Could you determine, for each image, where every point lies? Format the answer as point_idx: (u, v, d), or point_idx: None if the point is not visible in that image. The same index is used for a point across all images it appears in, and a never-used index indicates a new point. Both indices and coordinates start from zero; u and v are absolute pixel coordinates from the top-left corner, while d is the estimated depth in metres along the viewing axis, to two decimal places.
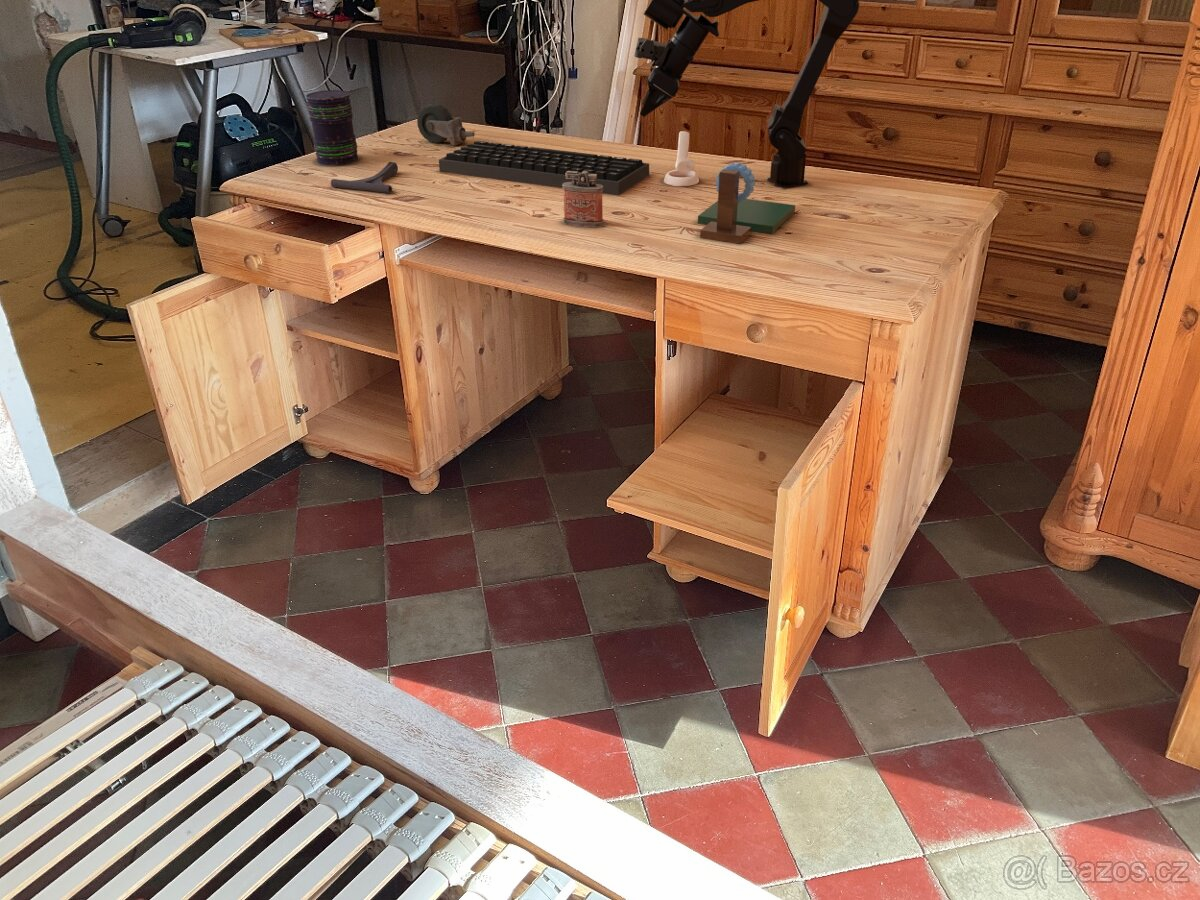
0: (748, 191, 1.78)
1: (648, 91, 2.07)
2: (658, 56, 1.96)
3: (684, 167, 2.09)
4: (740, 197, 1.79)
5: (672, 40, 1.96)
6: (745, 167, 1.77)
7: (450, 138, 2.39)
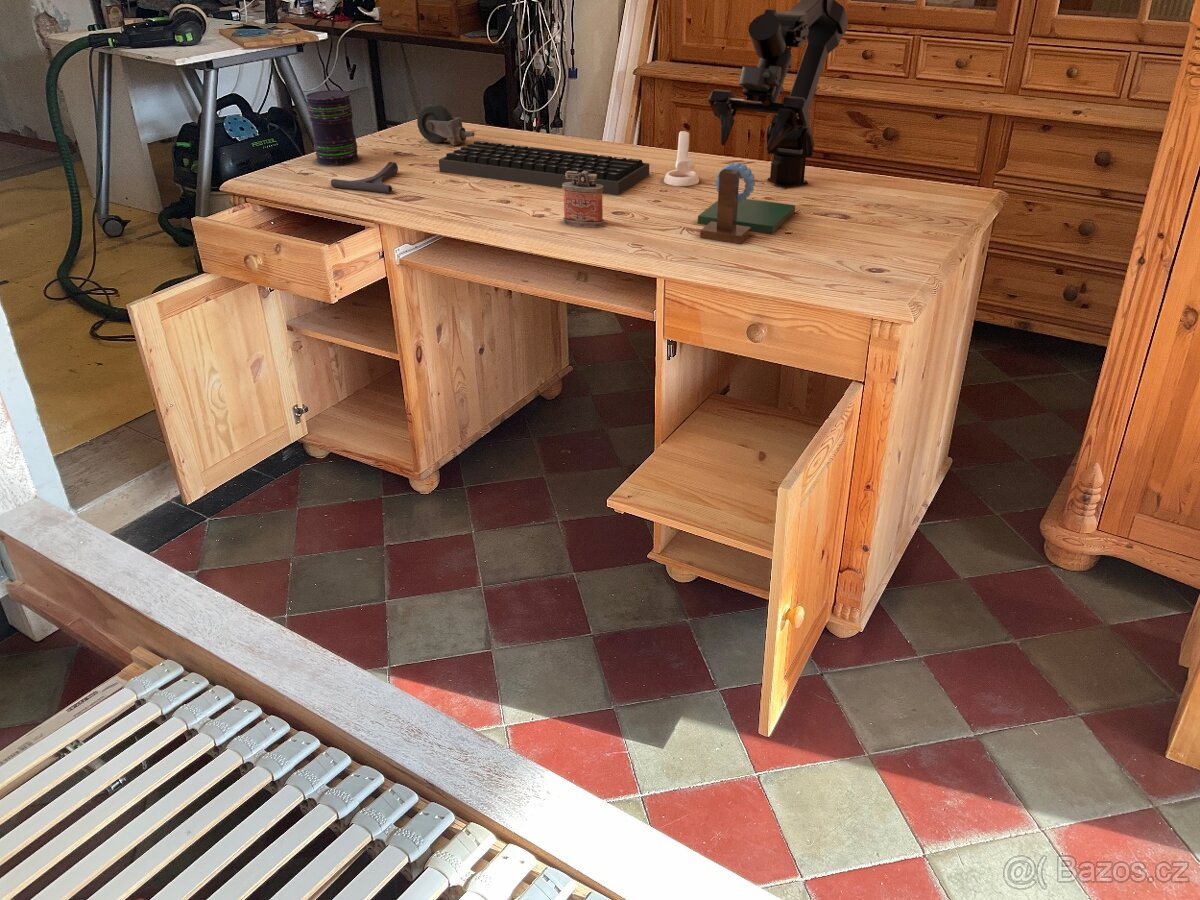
0: (748, 191, 1.78)
1: (726, 128, 1.85)
2: (773, 86, 1.80)
3: (684, 167, 2.09)
4: (740, 197, 1.79)
5: None
6: (745, 167, 1.77)
7: (450, 138, 2.39)
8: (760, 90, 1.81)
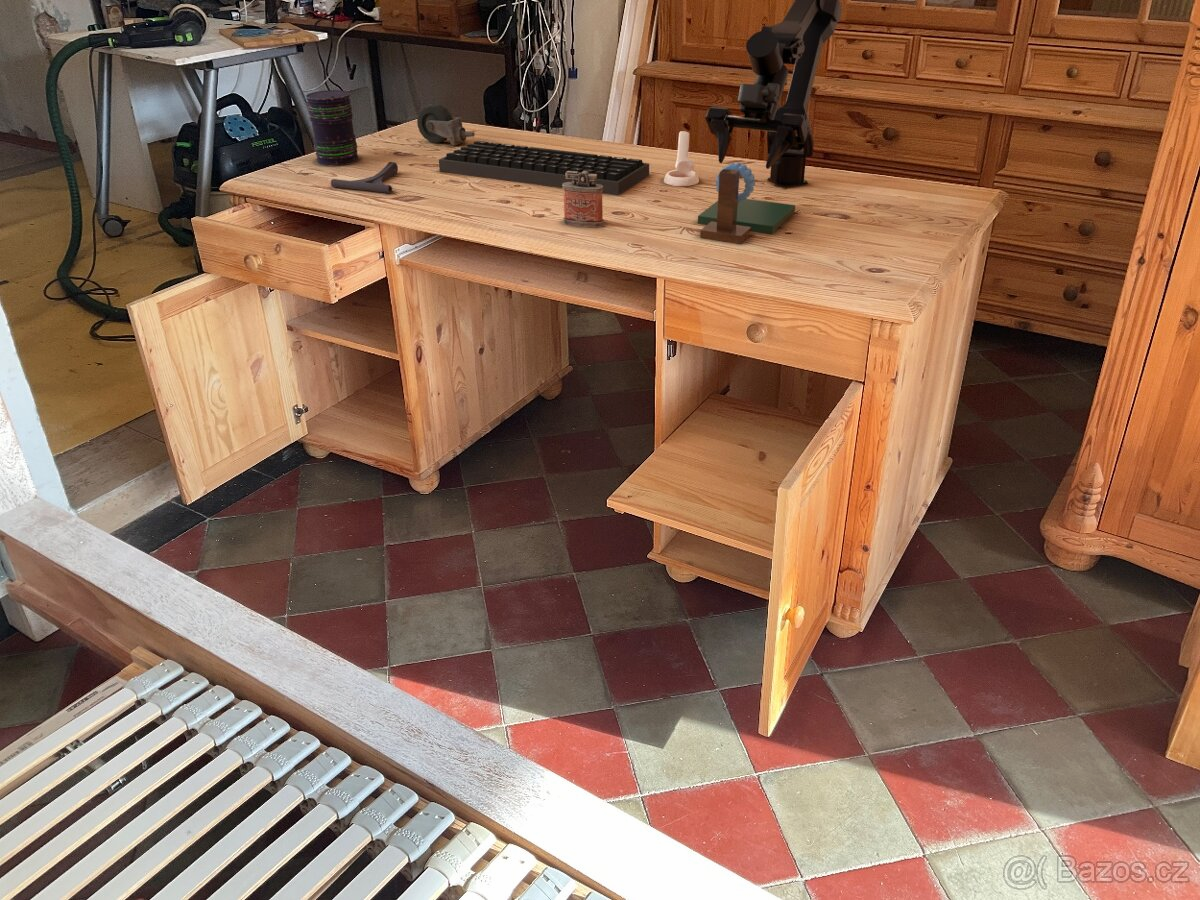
0: (748, 191, 1.78)
1: (723, 145, 1.82)
2: (771, 103, 1.79)
3: (684, 167, 2.09)
4: (740, 197, 1.79)
5: None
6: (745, 167, 1.77)
7: (450, 138, 2.39)
8: (758, 107, 1.80)
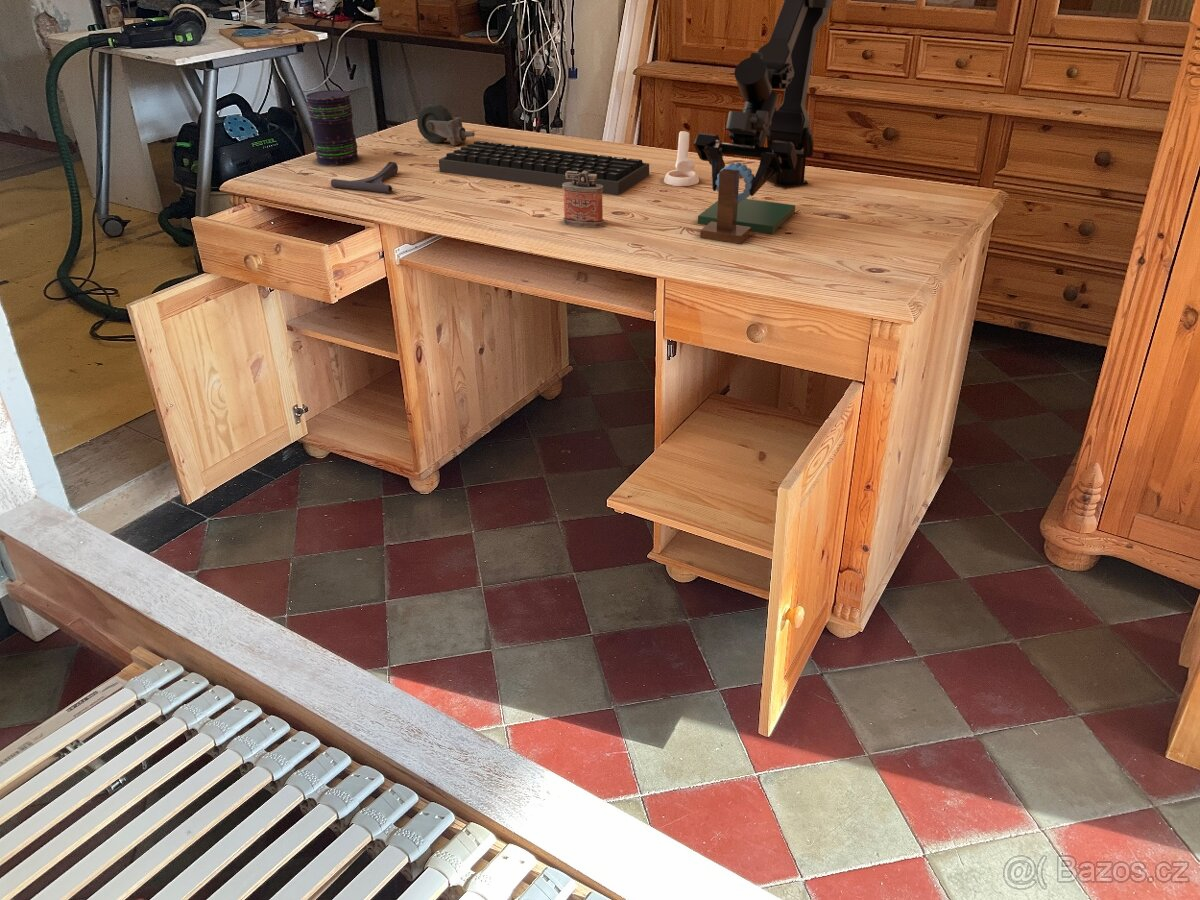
0: (748, 191, 1.78)
1: (717, 173, 1.80)
2: (760, 130, 1.77)
3: (684, 167, 2.09)
4: (740, 197, 1.79)
5: None
6: (745, 167, 1.77)
7: (450, 138, 2.39)
8: (747, 134, 1.77)
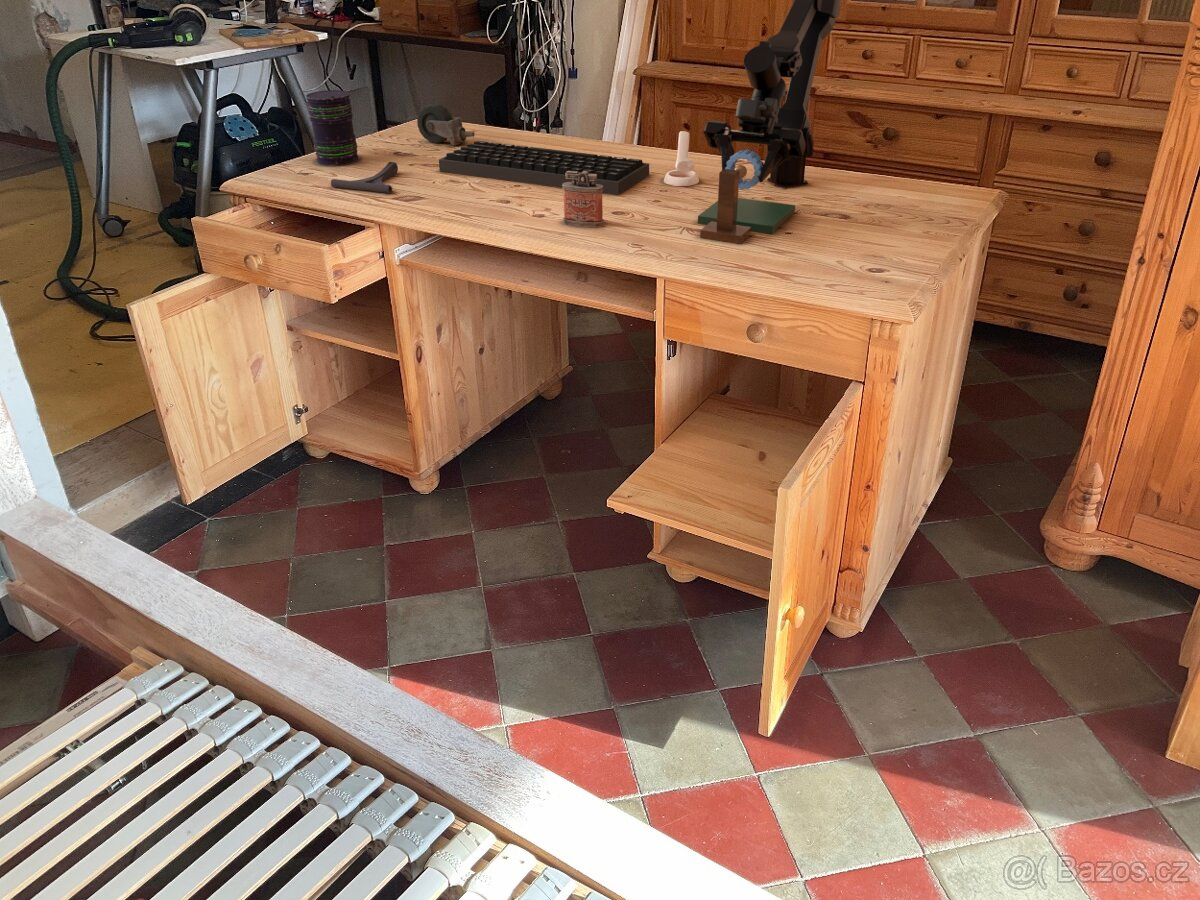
0: (757, 178, 1.81)
1: (727, 160, 1.83)
2: (769, 117, 1.79)
3: (684, 167, 2.09)
4: (749, 183, 1.82)
5: None
6: (754, 154, 1.80)
7: (450, 138, 2.39)
8: (756, 122, 1.80)
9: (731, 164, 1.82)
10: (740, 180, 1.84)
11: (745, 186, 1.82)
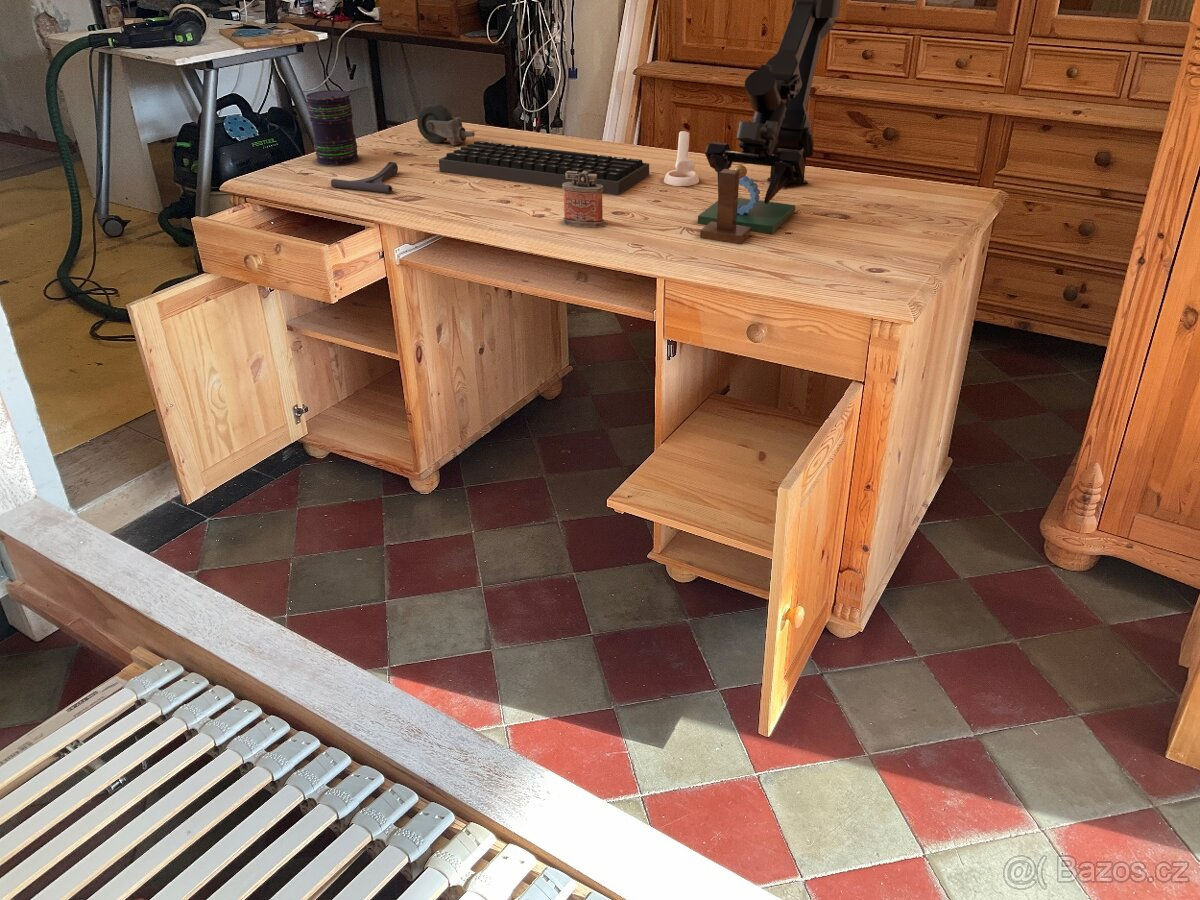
0: (754, 199, 1.84)
1: None
2: (769, 139, 1.83)
3: (684, 167, 2.09)
4: (748, 207, 1.85)
5: None
6: (746, 178, 1.84)
7: (450, 138, 2.39)
8: (756, 143, 1.83)
9: None
10: (739, 206, 1.88)
11: (744, 210, 1.86)
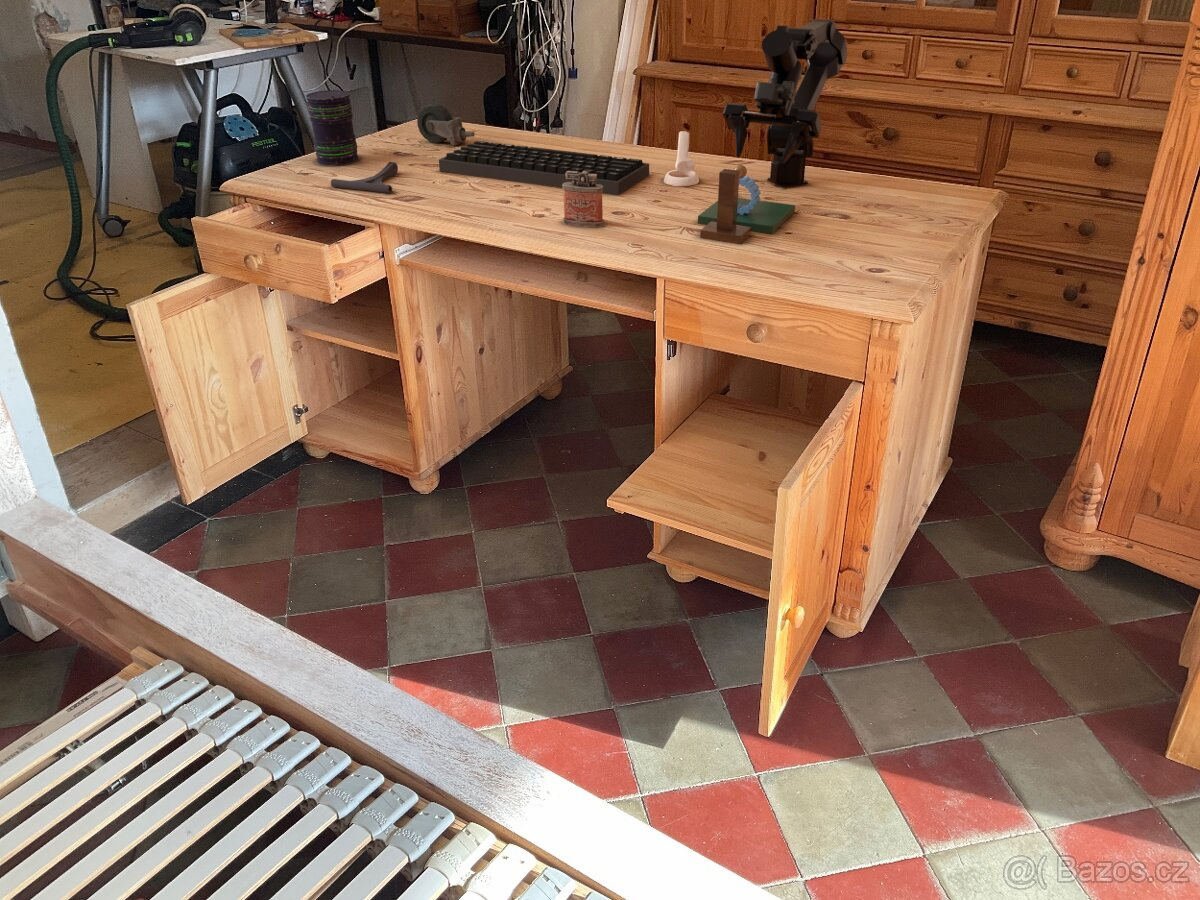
0: (754, 200, 1.84)
1: (741, 141, 1.91)
2: (786, 99, 1.87)
3: (684, 167, 2.09)
4: (748, 207, 1.86)
5: None
6: (748, 178, 1.84)
7: (450, 138, 2.39)
8: (773, 104, 1.87)
9: None
10: (739, 206, 1.88)
11: (745, 210, 1.86)
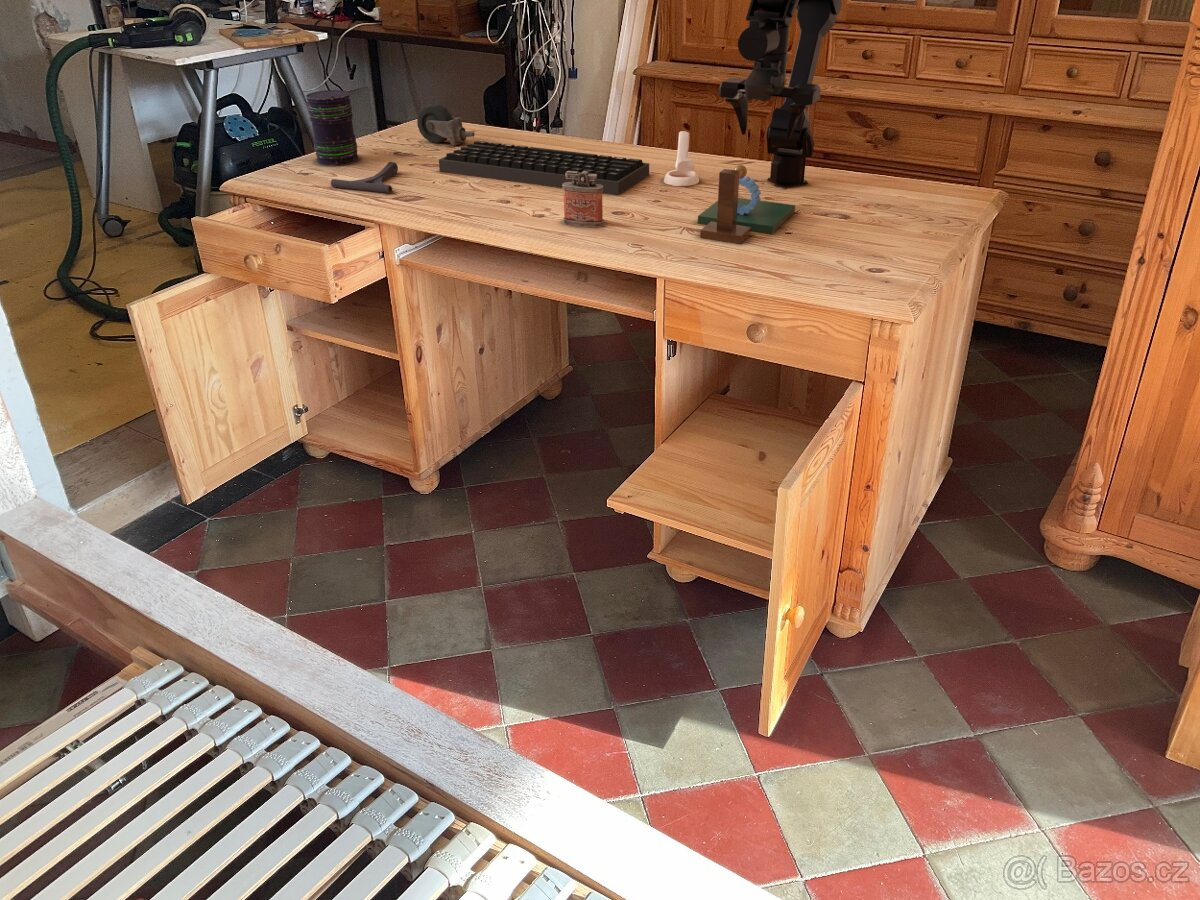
0: (755, 200, 1.84)
1: (743, 120, 1.91)
2: None
3: (684, 167, 2.09)
4: (748, 207, 1.86)
5: (773, 59, 1.82)
6: (748, 178, 1.84)
7: (450, 138, 2.39)
8: None
9: None
10: (739, 206, 1.88)
11: (745, 211, 1.86)
